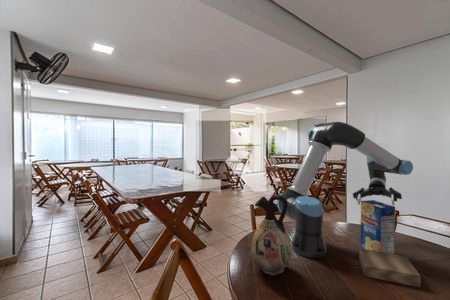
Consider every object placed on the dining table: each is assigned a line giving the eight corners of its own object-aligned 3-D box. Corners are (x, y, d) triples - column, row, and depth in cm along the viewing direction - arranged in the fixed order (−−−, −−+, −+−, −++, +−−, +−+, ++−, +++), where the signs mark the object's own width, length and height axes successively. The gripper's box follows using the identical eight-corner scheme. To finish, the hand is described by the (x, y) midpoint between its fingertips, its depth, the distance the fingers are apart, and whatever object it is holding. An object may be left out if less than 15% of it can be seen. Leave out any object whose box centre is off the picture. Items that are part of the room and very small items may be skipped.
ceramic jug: (247, 277, 79) (246, 196, 78) (254, 256, 94) (254, 188, 93) (295, 286, 74) (296, 200, 73) (295, 262, 89) (296, 190, 88)
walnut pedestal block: (364, 276, 79) (365, 265, 79) (358, 257, 92) (358, 248, 92) (420, 287, 73) (420, 276, 73) (405, 265, 86) (405, 255, 86)
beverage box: (380, 259, 90) (381, 207, 90) (360, 247, 101) (360, 200, 101) (394, 258, 91) (395, 206, 91) (373, 245, 102) (373, 200, 102)
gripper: (407, 193, 112) (410, 211, 96) (352, 192, 128) (347, 208, 111) (405, 179, 111) (407, 195, 95) (350, 180, 127) (344, 194, 110)
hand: (375, 202), depth 103 cm, fingers open, 13 cm apart
